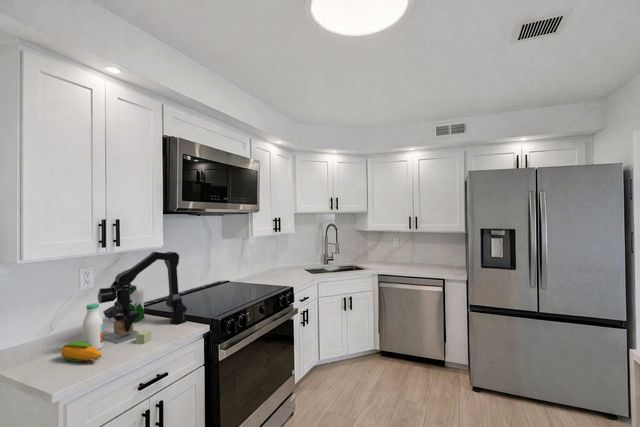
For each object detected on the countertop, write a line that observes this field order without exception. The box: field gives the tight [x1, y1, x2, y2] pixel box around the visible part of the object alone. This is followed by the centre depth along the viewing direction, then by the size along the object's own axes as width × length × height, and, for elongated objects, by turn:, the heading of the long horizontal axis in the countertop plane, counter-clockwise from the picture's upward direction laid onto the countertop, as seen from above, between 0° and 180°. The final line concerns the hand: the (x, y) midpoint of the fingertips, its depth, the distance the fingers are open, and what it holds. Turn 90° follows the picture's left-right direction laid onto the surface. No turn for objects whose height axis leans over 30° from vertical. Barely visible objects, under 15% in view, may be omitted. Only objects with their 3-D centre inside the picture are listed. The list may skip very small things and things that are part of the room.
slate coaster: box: [103, 329, 140, 345], centre depth 159 cm, size 13×13×1 cm
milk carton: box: [130, 284, 146, 323], centre depth 184 cm, size 9×9×20 cm
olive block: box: [135, 330, 152, 345], centre depth 152 cm, size 4×4×4 cm
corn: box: [60, 340, 102, 363], centre depth 133 cm, size 7×8×20 cm
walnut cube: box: [113, 319, 134, 336], centre depth 159 cm, size 6×6×6 cm
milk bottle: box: [81, 303, 104, 351], centre depth 144 cm, size 8×8×20 cm
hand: (123, 330), depth 159 cm, fingers closed on walnut cube, 6 cm apart
